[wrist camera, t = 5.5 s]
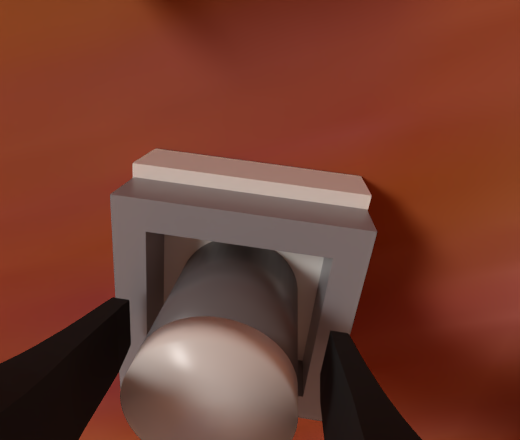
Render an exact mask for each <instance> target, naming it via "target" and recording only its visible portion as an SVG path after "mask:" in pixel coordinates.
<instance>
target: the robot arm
mask: <svg viewBox="0 0 520 440" xmlns="http://www.w3.org/2000/svg"><path fill="white" fill-rule="evenodd" d="M130 346H131V330H130V302H129V300H127V299H120V298H114V297H113V298H111V299H110V300H108V301H106V302H105V303H103V304H102V305H100V306H99V307H97V308H96V309H94V310H93V311H91V312H90V313H88V314H87V315H85V316H84V317H82V318H81V319H79V320H77V321H76V322H74V323H73V324H71V325H70V326H68V327H66V328H65V329H63V330H62V331H60V332H58V333H57V334H55V335H53V336H51V337H50V338H48V339H46V340H45V341H43V342H41V343H39V344H38V345H36V346H34V347H32V348H31V349H29V350H27V351H25V352H23V353H21V354H19V355H17V356H15V357H13V358H11V359H9V360H7V361H5V362H3V363H1V364H0V440H79V438H80V436H81V434H82V432H83V431H84V429H85V427H86V426H87V424H88V422H89V421H90V419H91V417H92V416H93V414H94V412H95V411H96V409H97V407H98V406H99V404H100V402H101V401H102V399H103V397H104V396H105V394H106V393H107V391H108V389H109V387H110V386H111V384H112V382H113V381H114V379H115V377H116V376H117V374H118V372H119V370H120V368H121V366H122V364H123V362H124V360H125V357H126V355H127V353H128V350H129V348H130ZM320 406H321V415H322V423H323V431H324V440H422V439H421V438H420V437H419V436H418V435H417V434H416V433H415V431H414V430H413V429H412V428H411V427H410V425H409V424H408V423H407V422H406V421H405V419H404V418H403V417H402V416H401V414H400V413H399V412H398V411H397V409H396V408H395V407H394V405H393V404H392V402H391V401H390V400H389V398H388V397H387V396H386V394H385V393H384V391H383V390H382V388H381V387H380V385H379V384H378V382H377V381H376V379H375V378H374V376H373V375H372V373H371V371H370V370H369V368H368V367H367V365H366V363H365V362H364V360H363V358H362V357H361V355H360V353H359V351H358V350H357V348H356V346H355V344H354V342H353V341H352V339H351V337H350V335H349V334H348V333H344V332H337V331H331V330H330V334H329V338H328V343H327V347H326V351H325V355H324V359H323V364H322V368H321V372H320Z"/></svg>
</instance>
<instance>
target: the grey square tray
mask: <svg viewBox="0 0 520 440" xmlns="http://www.w3.org/2000/svg"><path fill="white" fill-rule="evenodd" d="M371 196H372V195H371V194H370V192H369V190H368V188H367V186H366V184H365V183H364V181H363V179H362V177H361V176H356V175H348V174H341V173H333V172H326V171H318V170H311V169H304V168H296V167H289V166H281V165H274V164H266V163H259V162H252V161H244V160H237V159H229V158H222V157H214V156H207V155H200V154H192V153H185V152H177V151H170V150H163V149H154V150H153V151H151V152H149V153H148V154H146V155H145V156H143V157H141V158H140V159H138V160H137V161H135V162H133V178H132V179H131V180H129V181H128V182H127V183H125V184H124V185H122V186H121V187H120V188H118V189H117V190H116V191H114V192H113V193H111V194H110V202H111V221H112V240H113V259H114V278H115V296H116V298H120V299H127V300H129V302H130V330H131V346H130V348H129V350H128V353H127V355H126V357H125V360H124V362H123V364H122V366H121V368H120V370H119V372H120V388H121V385H122V382H123V379H124V377H125V375H126V373H127V371H128V369H129V367H130V365H131V364H132V362H133V360H134V358H135V356H136V354H137V353H138V351H139V349H140V347H141V345H142V343H143V342H144V340H145V338H146V336H147V334H148V332H149V331H150V329H151V327H152V325H153V323H154V321H155V320H156V318H157V316H158V314H159V312H160V310H161V309H162V307H163V305H164V303H165V301H166V299H167V298H168V296H169V294H170V292H171V290H172V288H173V287H174V285H175V283H176V281H177V279H178V277H179V276H180V274H181V272H182V270H183V268H184V266H185V265H186V263H187V261H188V260H189V258H190V257H191V256H192V255H193V254H194V253H195V252H196V251H197V250H198V249H199V248H201V247H202V246H204V245H206V244H207V243H210V242H212V241H214V242H221V243H228V244H235V245H242V246H249V247H256V248H262V249H269V250H275V251H276V252H278V253H279V254H280V255H281V256H282V257H283V258H284V259H285V260H286V261H287V263H288V264H289V266H290V267H291V269H292V271H293V273H294V275H295V278H296V281H297V287H298V417H300V418H306V419H312V420H318V421H322V415H321V406H320V372H321V368H322V364H323V359H324V355H325V351H326V347H327V343H328V338H329V334H330V330H331V331H337V332H344V333H348V334H349V335H350V333H351V329H352V325H353V322H354V318H355V314H356V310H357V306H358V303H359V299H360V295H361V291H362V288H363V284H364V280H365V276H366V273H367V269H368V265H369V261H370V257H371V254H372V250H373V246H374V242H375V239H376V235H377V230H376V228H375V226H374V224H373V222H372V219H371V217H370V215H369V213H368V208H369V204H370V200H371Z"/></svg>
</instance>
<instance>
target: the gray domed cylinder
mask: <svg viewBox="0 0 520 440" xmlns="http://www.w3.org/2000/svg"><path fill="white" fill-rule="evenodd" d="M120 399H121V406H122V410H123V413H124V415H125V418H126V420H127V422H128V423H129V425H130V427H131V428H132V430H133V431H134V432H135V433H136V435H137V436H138V437H139V438H140V439H141V440H292V438H293V436H294V434H295V431H296V428H297V423H298V287H297V281H296V278H295V275H294V273H293V271H292V269H291V267H290V266H289V264H288V263H287V261H286V260H285V259H284V258H283V257H282V256H281V255H280V254H279V253H278V252H276V251H275V250H269V249H262V248H256V247H249V246H242V245H235V244H228V243H221V242H214V241H212V242H210V243H207V244H206V245H204V246H202V247H201V248H199V249H198V250H197V251H196V252H195V253H194V254H193V255H192V256H191V257H190V258H189V260H188V261H187V263H186V265H185V266H184V268H183V270H182V272H181V274H180V276H179V277H178V279H177V281H176V283H175V285H174V287H173V288H172V290H171V292H170V294H169V296H168V298H167V299H166V301H165V303H164V305H163V307H162V309H161V310H160V312H159V314H158V316H157V318H156V320H155V321H154V323H153V325H152V327H151V329H150V331H149V332H148V334H147V336H146V338H145V340H144V342H143V343H142V345H141V347H140V349H139V351H138V353H137V354H136V356H135V358H134V360H133V362H132V364H131V365H130V367H129V369H128V371H127V373H126V375H125V377H124V379H123V382H122V385H121V392H120Z"/></svg>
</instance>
